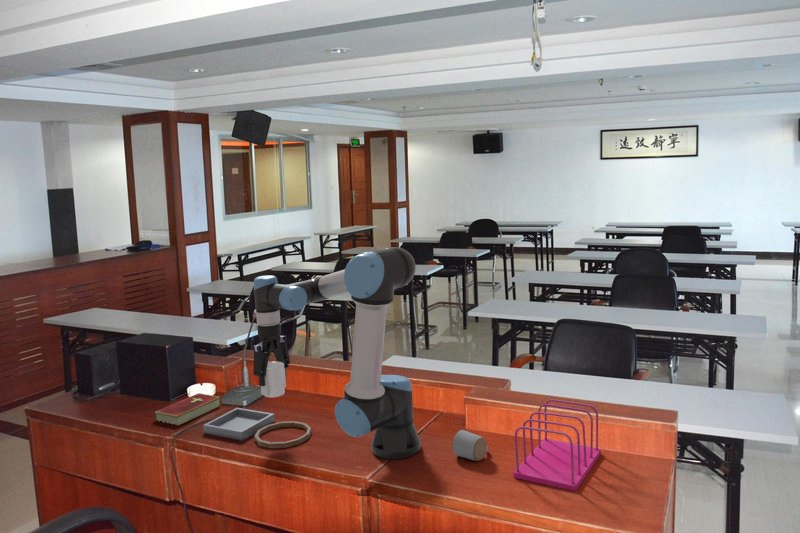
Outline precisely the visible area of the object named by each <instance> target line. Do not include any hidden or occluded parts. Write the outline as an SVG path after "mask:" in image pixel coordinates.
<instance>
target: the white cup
mask: <svg viewBox="0 0 800 533" xmlns="http://www.w3.org/2000/svg"><path fill="white" fill-rule="evenodd" d="M266 375H267V376H268V386H269V395H268V396H267V395H263V396H264V397H266V398H279V397H282V396H283V395H285V392H286V391H285V390H286V387H285V388H284V385H285V373H284V363H283V362H278V361H277V360H275V361H268V365H267V370H266Z"/></svg>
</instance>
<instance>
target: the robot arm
mask: <svg viewBox="0 0 800 533" xmlns="http://www.w3.org/2000/svg"><path fill="white" fill-rule="evenodd" d="M416 268H417V267H416V262H415V259H414V257H413V255H412V254H411V253H410V252H409V251H408V250H406V249H405V248H402V247H397V246H396V247H394V246H393V247H387V248H383V249H378V250H371V251H364V252H363V253H361V254H360V253H359V254H357V255H355V256H353V257H352V258H350V259H349V261H348V263H347V264H346V266H345V268H344V269H342V270H339V271H336V272H335V271H334V272H332V273H329V274H325V275H322V276H318V277H314V278H312V279H311V278H310V279H307V280H304V281H298V282H293V283H289V284H288V283H287V284H283V283H282V284H280V283H279V281H278V278H277V276H275V275H267V274H266V275H260V276H257V277H255V278H254V280H253V295H254V296H253V297H254V303H255V304H254V305H255V315H256V323H257V325H256V328H257V336H258V337H259V342H258V344H256V345H255V344H254V345H252V350H253V370H252V372H253V376H256V377H258V382H259V386H260V394H261V395H262V396H264V395H267V396H268V395H269V386H268V376H267V375H266V370H267V365H268V362H269V359H270V356H271V354H272V352H273V355H274V357H275V359H276V360H275V361H278V362H283V363H284V373H285V385H284V388H285V389H286V388H287V378H286V377H287V369H288V368H289V365H290V364H291V358H290V353H289V349H288V342H287V341H288V337H287V336H286V335H281V334H282V326H281V323H280V322H281V315H280V314H281V313H280V312H281V311H280V309H282V310H287V311H299V310H301V309H303V308H304V307H305V306H306V305H310V304H312V303H318V302H320V301H326V300H329V299H332V298H336V297H339V296H344V295H347V294H350V296H351V300H352V302H353V303H354V304H355V315H354V316H355V319H354V329H353V345H352V353H351V354H352V355H351V356H352V357H351V370H350V381H349V382H347V383H346V384H345V386H344V391H343V398H341V399H340V400H338V401H337V403H336V404H335V407H334V416H335V419H336V422H337V424H338V426H340V428H341V430H342V431H343V432H344V433H345V434H347V435H348V436H350V437H354V438H360V437H363V436H365V435H369V434H370V433H371V432H373V431H374V433H373V436H372V440H371V452H372V453H373V455H375V456H376V457H379V458H381V459H387V460H402V459H405V458H409V457H412V456H415V455H416V454H418V453H419V452H420V450H421V439H420V437H419V433H418V431H417V429H416V426H415V424H414V423H415V422H414V404H413V403H414V402H413V400H414V399H413V387H412V381H411V379H409V378H408V377H406V376H403V375H398V374H382V369H383V368H382V367H383V366H382V365H383V357H384V346H385V334H386V323H387V322H386V321H387V314H388V313H387V311H388V307H389V306H390V305H392V303H393V301H394V297H395V296H394V294H395V290H397V289H400V288H402V287H405V286H407V285H408V284H409V283H410V282H411V281H412V280H413V278H414V276H415V274H416V270H417V269H416Z"/></svg>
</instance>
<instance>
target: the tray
mask: <svg viewBox="0 0 800 533" xmlns="http://www.w3.org/2000/svg"><path fill="white" fill-rule="evenodd" d="M275 419H276V418H275V413H271V412H265V411H259V410H253V409H248V408H240V407H235V408H234V409H232V410H229V411H228V412H226V413H223V414H222V415H220V416H218V417H217V418H214V419H213V420H210V421H209V422H206V423H205V424H203V425H202V427H203V428H202V429H203V434H206V435H210V436H216V437H220V438H226V439H231V440H235V441H242V442H243V441H245V440H246V438H247V439H248V438H249V437H252V436H254V435H255V434H256V433H257V431H258V430H259V429H261V428H263V427H265V426H267V425H270V424H274V423H276V420H275Z"/></svg>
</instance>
